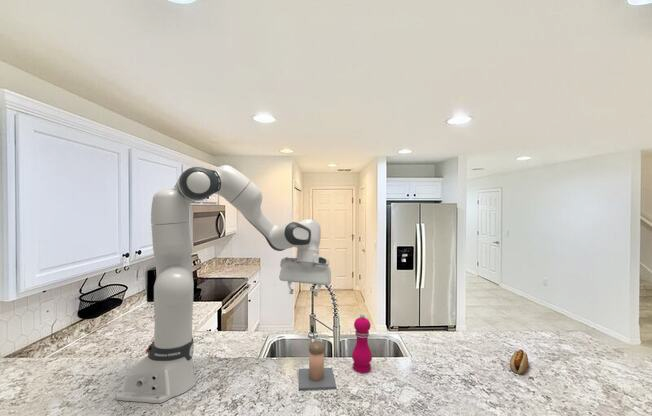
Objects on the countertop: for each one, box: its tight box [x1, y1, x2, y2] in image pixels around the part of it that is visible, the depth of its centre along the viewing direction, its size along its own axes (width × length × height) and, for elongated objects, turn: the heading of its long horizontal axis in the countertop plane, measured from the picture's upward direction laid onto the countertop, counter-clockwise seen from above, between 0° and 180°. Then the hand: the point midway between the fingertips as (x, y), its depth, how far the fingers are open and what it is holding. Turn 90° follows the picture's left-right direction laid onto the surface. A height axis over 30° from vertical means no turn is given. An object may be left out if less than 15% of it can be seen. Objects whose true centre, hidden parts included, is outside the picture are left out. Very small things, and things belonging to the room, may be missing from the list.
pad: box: [298, 367, 337, 392], centre depth 102 cm, size 12×12×1 cm
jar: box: [308, 340, 326, 381], centre depth 103 cm, size 5×5×11 cm
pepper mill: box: [351, 313, 373, 374], centre depth 110 cm, size 7×7×20 cm
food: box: [509, 349, 529, 375], centre depth 113 cm, size 14×6×5 cm, turn 141°
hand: (303, 295), depth 116 cm, fingers open, 8 cm apart
